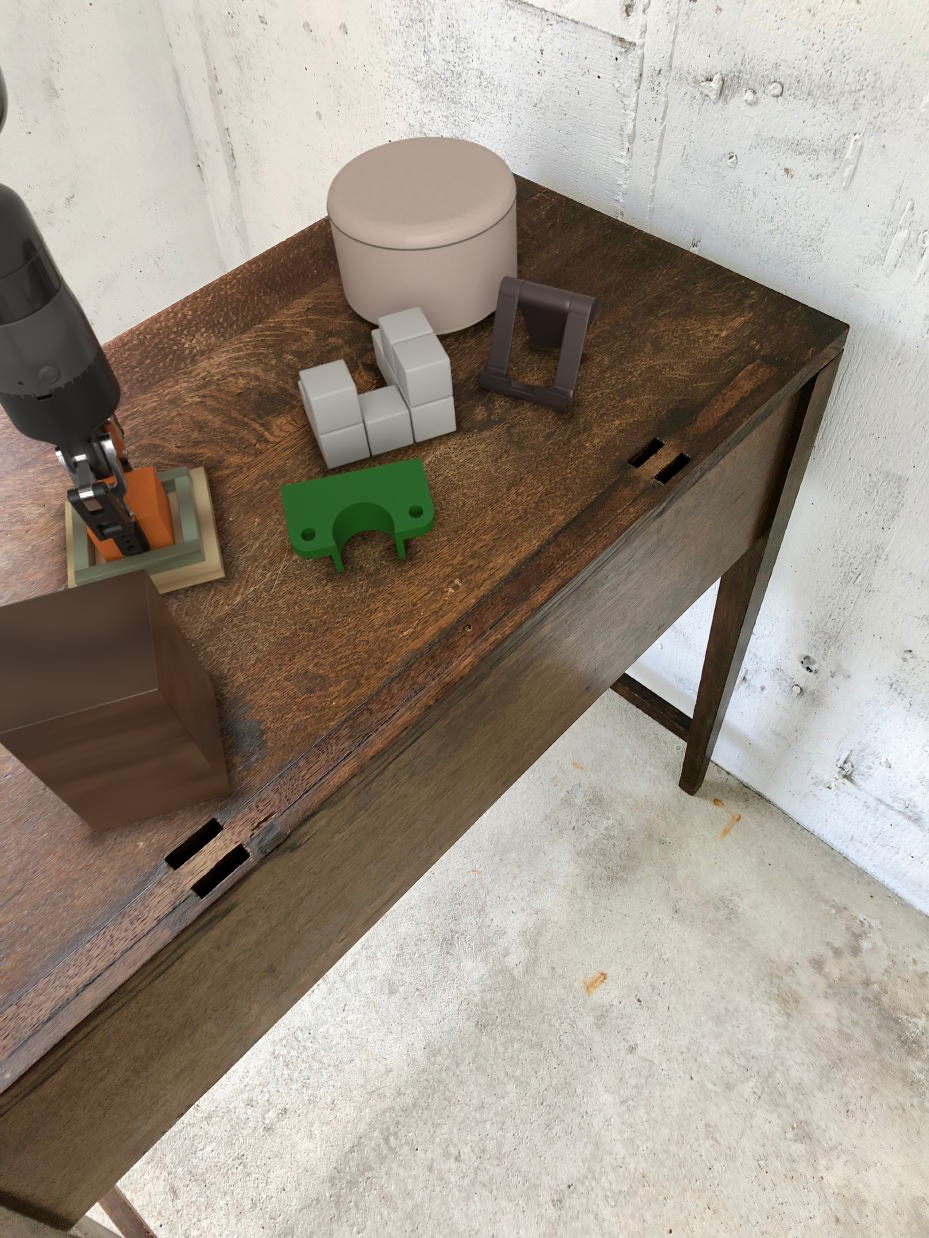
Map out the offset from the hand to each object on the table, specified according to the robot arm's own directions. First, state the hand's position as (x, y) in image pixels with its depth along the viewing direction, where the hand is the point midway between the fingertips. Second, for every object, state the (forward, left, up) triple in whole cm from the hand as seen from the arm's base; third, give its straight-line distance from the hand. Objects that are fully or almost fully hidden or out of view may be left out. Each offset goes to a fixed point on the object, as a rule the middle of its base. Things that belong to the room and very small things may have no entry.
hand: (134, 523), depth 71 cm
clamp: (+8, -17, -3) cm, 19 cm away
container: (+40, -5, -3) cm, 40 cm away
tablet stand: (+32, -21, -3) cm, 38 cm away
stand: (-15, -14, -2) cm, 21 cm away
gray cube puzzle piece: (+22, -9, -3) cm, 24 cm away
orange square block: (0, 0, -1) cm, 1 cm away
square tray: (0, 0, -2) cm, 2 cm away
